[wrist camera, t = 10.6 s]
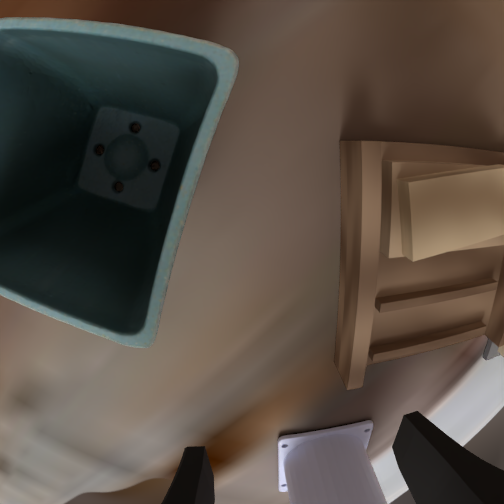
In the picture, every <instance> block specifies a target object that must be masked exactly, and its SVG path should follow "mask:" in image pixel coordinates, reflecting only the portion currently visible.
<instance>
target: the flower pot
mask: <svg viewBox="0 0 504 504" xmlns="http://www.w3.org/2000/svg"><path fill="white" fill-rule="evenodd" d="M238 69H239V59H238V57H237V55H236V54H235V53H234V52H233V51H232V50H231V49H229V48H227V47H224V46H222V45H219V44H217V43H213V42H210V41H207V40H201V39H196V38H192V37H188V36H185V35H179V34H174V33H169V32H165V31H160V30H153V29H148V28H143V27H136V26H129V25H124V24H117V23H106V22H98V21H90V20H79V19H60V18H34V17H33V18H29V17H26V18H21V17H14V18H8V17H6V18H0V295H2V296H3V297H5V298H8V299H10V300H12V301H15V302H17V303H19V304H21V305H23V306H26V307H28V308H30V309H32V310H35V311H37V312H40V313H42V314H45V315H47V316H49V317H52V318H54V319H57V320H59V321H62V322H64V323H67V324H70V325H72V326H75V327H77V328H80V329H83V330H86V331H88V332H90V333H93V334H96V335H98V336H101V337H104V338H105V339H109V340H112V341H114V342H116V343H119V344H122V345H126V346H130V347H136V348H148V347H150V346H151V345H152V344H153V343H154V340H155V338H156V335H157V331H158V327H159V322H160V316H161V312H162V307H163V303H164V299H165V295H166V291H167V287H168V283H169V279H170V275H171V271H172V267H173V263H174V260H175V256H176V252H177V249H178V245H179V242H180V238H181V235H182V231H183V228H184V225H185V222H186V218H187V215H188V211H189V208H190V204H191V201H192V198H193V195H194V192H195V189H196V185H197V182H198V179H199V176H200V173H201V170H202V167H203V164H204V161H205V158H206V155H207V152H208V149H209V147H210V144H211V141H212V138H213V136H214V133H215V130H216V127H217V124H218V122H219V120H220V117H221V114H222V111H223V109H224V107H225V104H226V102H227V100H228V98H229V95H230V92H231V90H232V87H233V84H234V82H235V79H236V76H237V73H238ZM135 123H137V124H139V125H140V130H139V131H138V132H137V133H134V132H132V131H131V126H132V125H133V124H135ZM99 145H102V146H103V147H104V153H103V154H102V155H98V154H96V147H97V146H99ZM153 161H158V162H159V165H160V167H159V169H158V170H156V171H154V170H152V169H151V167H150V165H151V163H152V162H153ZM117 182H121V183H122V184H123V190H122V191H120V192H118V191H116V190H115V188H114V185H115V184H116V183H117Z"/></svg>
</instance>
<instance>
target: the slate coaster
mask: <svg viewBox="0 0 504 504" xmlns="http://www.w3.org/2000/svg"><path fill="white" fill-rule="evenodd" d="M498 348H499V347H498V346H497V345H496V344H494V343H493V342H492V341H491V340H490V339H488V343H487V346H486V349H485V352H484V354H483V358H484V359H485V360H489V359H491V358H494V357H496V356H499V355H501V354H500V353H499V352H498Z"/></svg>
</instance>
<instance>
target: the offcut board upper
mask: <svg viewBox="0 0 504 504" xmlns="http://www.w3.org/2000/svg"><path fill="white" fill-rule="evenodd" d="M397 189H398V199H399V211H400V225H401V243H402V254H403V255H404V256H406V257H407V258H408V259H410V260H411V261H413V262H414V261H417V260H421V259H424V258H428V257H431V256H435V255H438V254H442V253H445V252H449V251H452V250H455V249H459V248H462V247H465V246H469V245H472V244H475V243H479V242H482V241H485V240H488V239H491V238H495V237H498V236H501V235H504V165H501V164H497V165H489V166H482V167H474V168H467V169H460V170H453V171H446V172H440V173H433V174H427V175H420V176H414V177H408V178H402V179H397Z"/></svg>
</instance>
